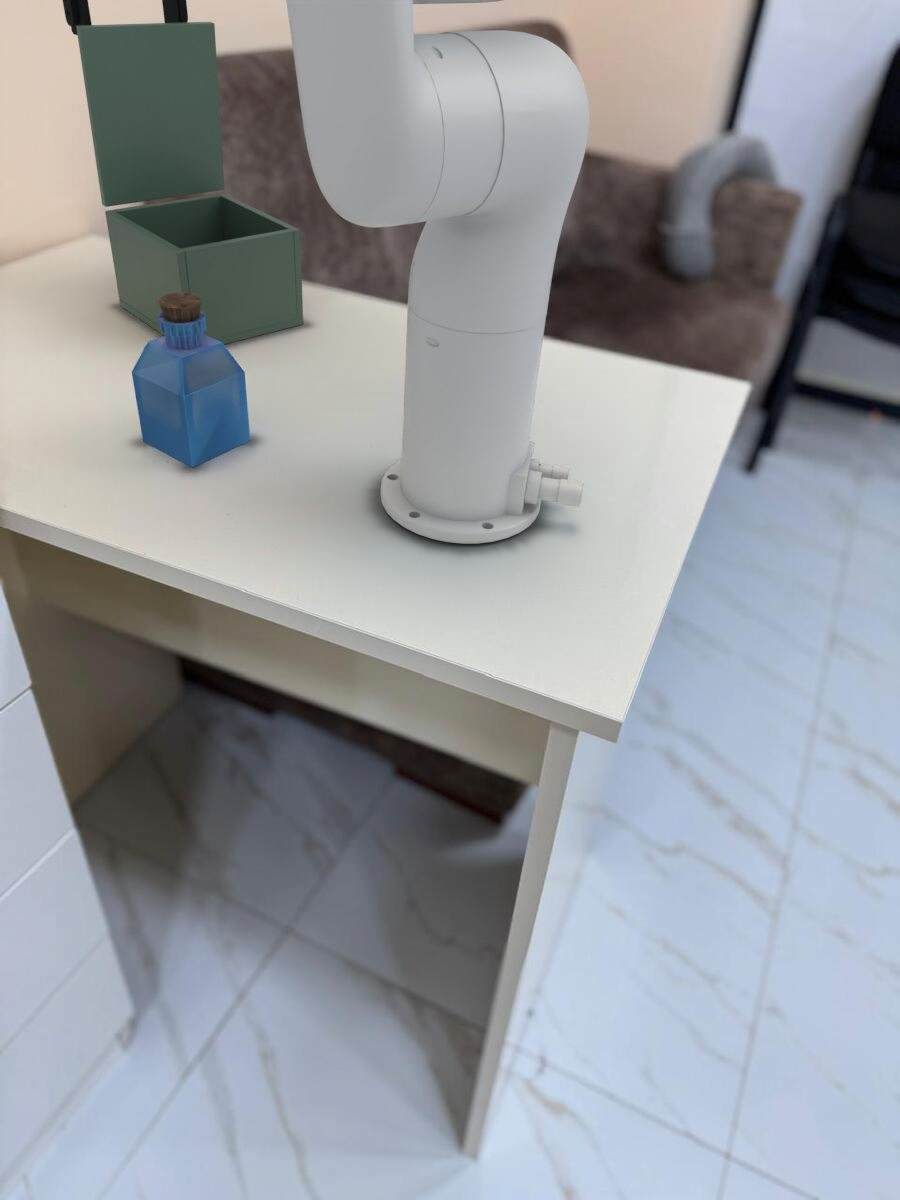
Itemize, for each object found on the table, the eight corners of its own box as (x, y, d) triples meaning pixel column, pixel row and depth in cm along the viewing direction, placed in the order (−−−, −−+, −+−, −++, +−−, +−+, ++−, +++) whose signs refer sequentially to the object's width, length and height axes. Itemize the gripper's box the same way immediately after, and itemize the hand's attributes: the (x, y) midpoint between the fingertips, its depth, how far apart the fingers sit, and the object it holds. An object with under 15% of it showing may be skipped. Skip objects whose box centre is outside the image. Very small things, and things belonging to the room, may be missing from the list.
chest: (303, 324, 97) (300, 229, 91) (189, 353, 89) (177, 252, 83) (230, 282, 105) (223, 193, 99) (120, 306, 98) (104, 210, 91)
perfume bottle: (143, 441, 76) (119, 299, 68) (201, 416, 80) (185, 279, 72) (192, 467, 73) (174, 323, 65) (250, 440, 77) (239, 301, 69)
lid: (214, 23, 88) (187, 12, 91) (79, 27, 81) (54, 15, 84) (224, 189, 98) (200, 175, 101) (105, 207, 91) (82, 191, 94)
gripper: (13, -215, 70) (59, 42, 81) (211, -191, 80) (230, 36, 90) (-23, -212, 75) (25, 31, 85) (169, -190, 84) (191, 26, 95)
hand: (131, 34), depth 88 cm, fingers open, 9 cm apart
